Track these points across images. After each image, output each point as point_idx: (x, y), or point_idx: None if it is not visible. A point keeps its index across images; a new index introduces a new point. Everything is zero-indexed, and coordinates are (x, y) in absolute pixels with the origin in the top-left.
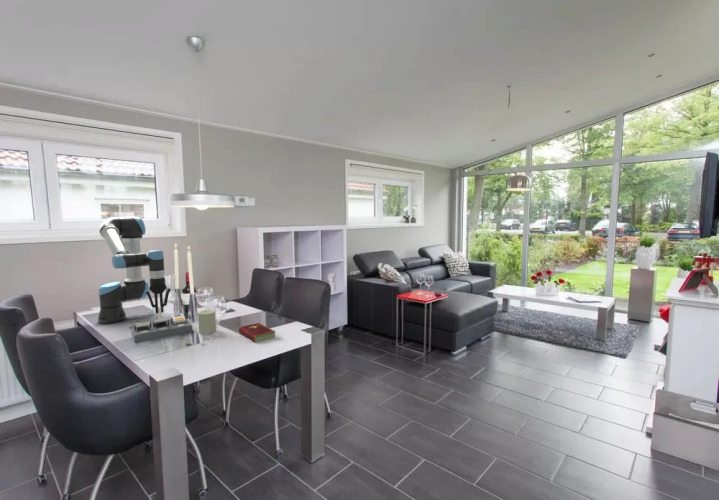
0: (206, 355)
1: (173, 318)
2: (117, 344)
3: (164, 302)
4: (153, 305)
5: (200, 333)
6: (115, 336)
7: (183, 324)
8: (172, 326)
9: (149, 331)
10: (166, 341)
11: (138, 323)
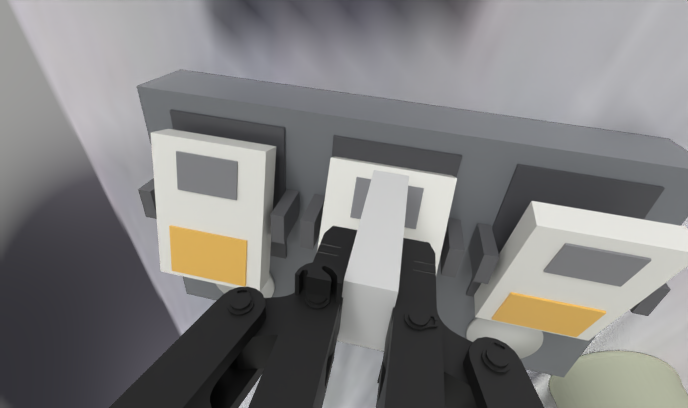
0: None
1: (504, 285)
2: (127, 217)
3: (488, 403)
4: (247, 373)
5: (550, 388)
6: (61, 13)
7: (525, 338)
8: (441, 307)
9: (273, 292)
10: (355, 347)
11: (172, 255)
